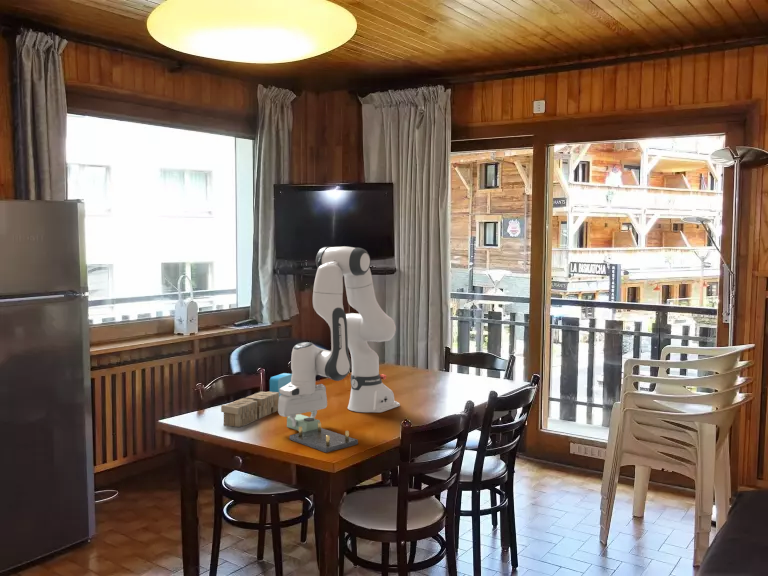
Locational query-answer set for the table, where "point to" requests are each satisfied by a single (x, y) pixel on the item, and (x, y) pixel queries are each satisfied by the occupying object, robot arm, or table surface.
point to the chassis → (323, 439)
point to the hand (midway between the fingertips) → (303, 424)
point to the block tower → (250, 408)
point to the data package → (279, 382)
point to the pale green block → (303, 423)
